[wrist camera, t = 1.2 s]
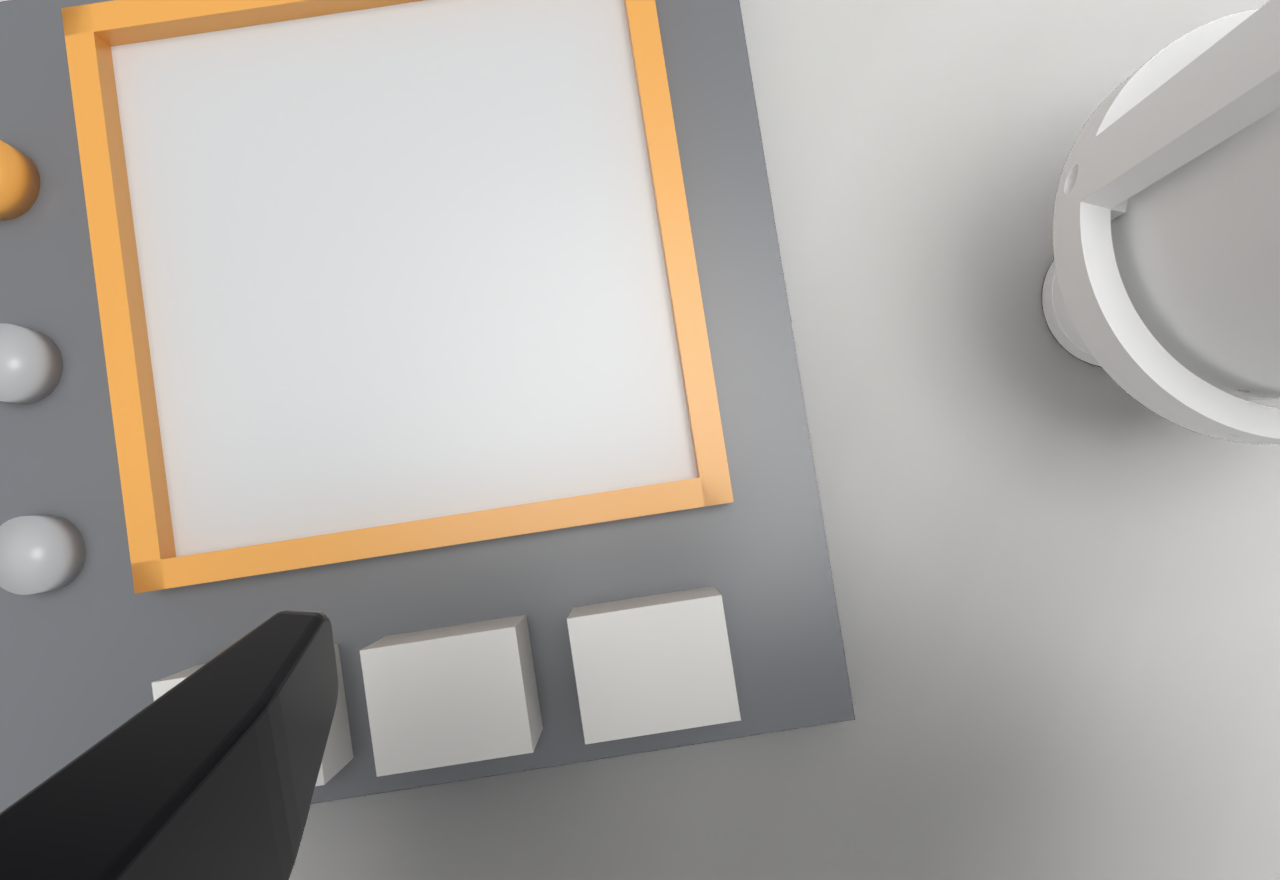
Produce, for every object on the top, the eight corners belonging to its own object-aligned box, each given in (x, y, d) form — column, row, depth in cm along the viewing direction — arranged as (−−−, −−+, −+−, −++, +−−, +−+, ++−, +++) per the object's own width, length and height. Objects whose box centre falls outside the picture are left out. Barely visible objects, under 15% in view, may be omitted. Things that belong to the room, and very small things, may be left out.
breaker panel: (845, 709, 23) (877, 742, 20) (29, 835, 22) (-65, 888, 19) (718, -79, 24) (730, -163, 20) (-66, 36, 23) (-169, -31, 20)
